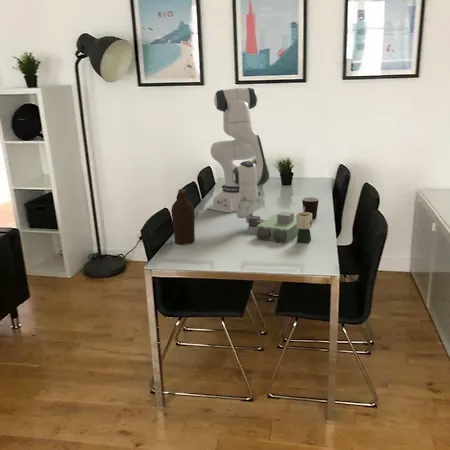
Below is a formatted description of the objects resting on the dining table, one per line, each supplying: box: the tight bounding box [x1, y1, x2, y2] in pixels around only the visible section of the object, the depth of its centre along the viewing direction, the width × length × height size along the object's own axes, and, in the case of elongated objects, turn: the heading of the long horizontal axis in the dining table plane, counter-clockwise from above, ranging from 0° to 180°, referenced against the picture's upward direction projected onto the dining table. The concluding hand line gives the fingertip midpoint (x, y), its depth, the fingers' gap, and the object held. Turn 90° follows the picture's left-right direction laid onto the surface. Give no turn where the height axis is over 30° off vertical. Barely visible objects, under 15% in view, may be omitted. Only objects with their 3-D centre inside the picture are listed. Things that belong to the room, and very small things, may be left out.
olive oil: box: [170, 188, 196, 246], centre depth 238 cm, size 11×11×25 cm
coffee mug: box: [301, 196, 320, 220], centre depth 272 cm, size 12×9×10 cm
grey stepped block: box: [248, 215, 266, 228], centre depth 254 cm, size 8×5×6 cm, turn 62°
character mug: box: [295, 211, 313, 243], centre depth 234 cm, size 11×7×13 cm, turn 179°
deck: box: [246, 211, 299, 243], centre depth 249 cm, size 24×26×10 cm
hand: (249, 222), depth 255 cm, fingers closed
